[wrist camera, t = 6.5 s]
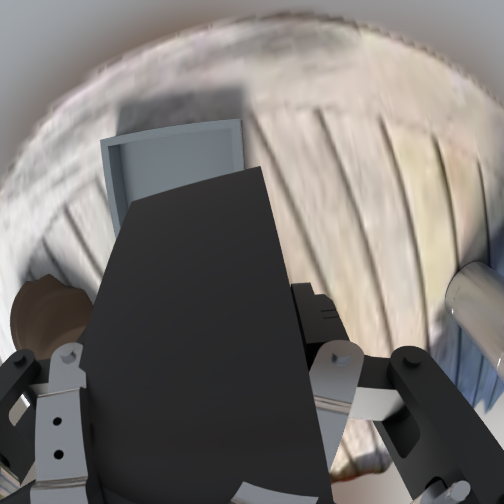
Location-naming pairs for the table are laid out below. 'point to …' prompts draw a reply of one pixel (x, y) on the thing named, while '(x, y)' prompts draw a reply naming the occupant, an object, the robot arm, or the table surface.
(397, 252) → the table surface
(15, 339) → the decorative dome
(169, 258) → the phone stand
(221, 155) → the tray
